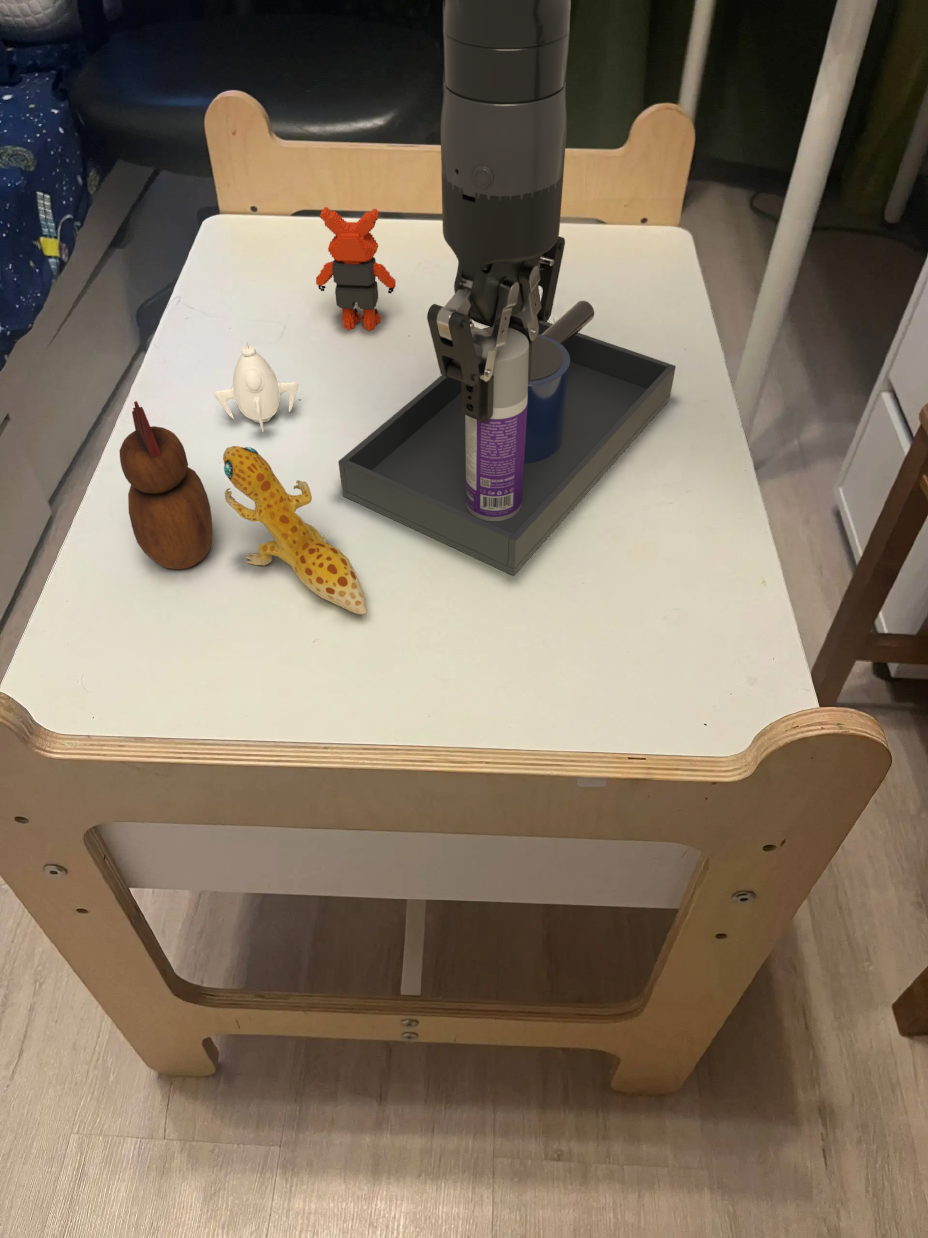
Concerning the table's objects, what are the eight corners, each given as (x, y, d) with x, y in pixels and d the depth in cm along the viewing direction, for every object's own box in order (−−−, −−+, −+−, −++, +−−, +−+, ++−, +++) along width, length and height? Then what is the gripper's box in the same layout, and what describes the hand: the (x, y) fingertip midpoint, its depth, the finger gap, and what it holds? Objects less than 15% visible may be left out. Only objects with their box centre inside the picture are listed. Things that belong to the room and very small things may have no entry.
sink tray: (669, 400, 87) (676, 365, 84) (513, 576, 72) (515, 541, 69) (516, 345, 93) (517, 311, 91) (342, 496, 78) (337, 461, 75)
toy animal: (402, 306, 99) (395, 193, 90) (396, 333, 95) (388, 219, 86) (329, 303, 99) (315, 191, 90) (320, 330, 95) (305, 216, 86)
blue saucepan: (542, 364, 90) (547, 287, 84) (614, 390, 87) (625, 312, 81) (456, 443, 81) (455, 364, 75) (533, 475, 79) (539, 395, 72)
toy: (268, 473, 75) (257, 410, 66) (401, 600, 73) (409, 553, 64) (207, 524, 73) (187, 467, 64) (342, 655, 71) (341, 616, 62)
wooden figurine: (219, 577, 72) (173, 418, 60) (144, 585, 71) (83, 427, 60) (220, 519, 76) (177, 362, 65) (149, 527, 75) (94, 369, 64)
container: (532, 496, 77) (542, 336, 65) (503, 529, 74) (509, 368, 63) (484, 477, 78) (486, 318, 67) (455, 508, 76) (452, 348, 64)
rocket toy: (264, 442, 83) (248, 366, 77) (220, 422, 85) (201, 346, 79) (303, 411, 86) (290, 336, 80) (259, 393, 88) (244, 318, 82)
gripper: (512, 113, 61) (505, 340, 74) (382, 191, 53) (399, 431, 66) (612, 137, 58) (586, 369, 71) (490, 223, 50) (486, 467, 63)
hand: (496, 398), depth 68 cm, fingers closed on container, 4 cm apart
